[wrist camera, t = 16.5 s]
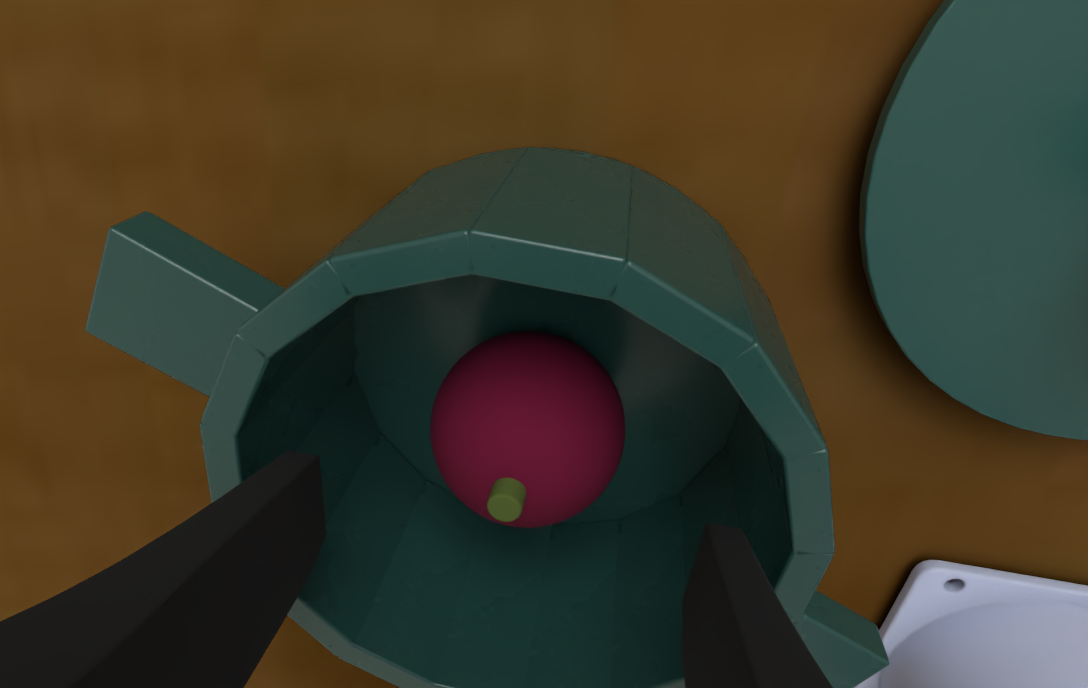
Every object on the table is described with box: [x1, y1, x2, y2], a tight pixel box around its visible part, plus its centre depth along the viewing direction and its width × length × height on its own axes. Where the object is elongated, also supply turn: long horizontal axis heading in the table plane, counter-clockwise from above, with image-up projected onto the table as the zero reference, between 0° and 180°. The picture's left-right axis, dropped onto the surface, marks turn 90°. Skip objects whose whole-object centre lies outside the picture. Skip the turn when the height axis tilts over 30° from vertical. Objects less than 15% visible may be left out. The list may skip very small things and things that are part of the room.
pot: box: [85, 147, 890, 688], centre depth 14 cm, size 11×17×6 cm
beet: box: [430, 331, 625, 528], centre depth 15 cm, size 4×4×5 cm
